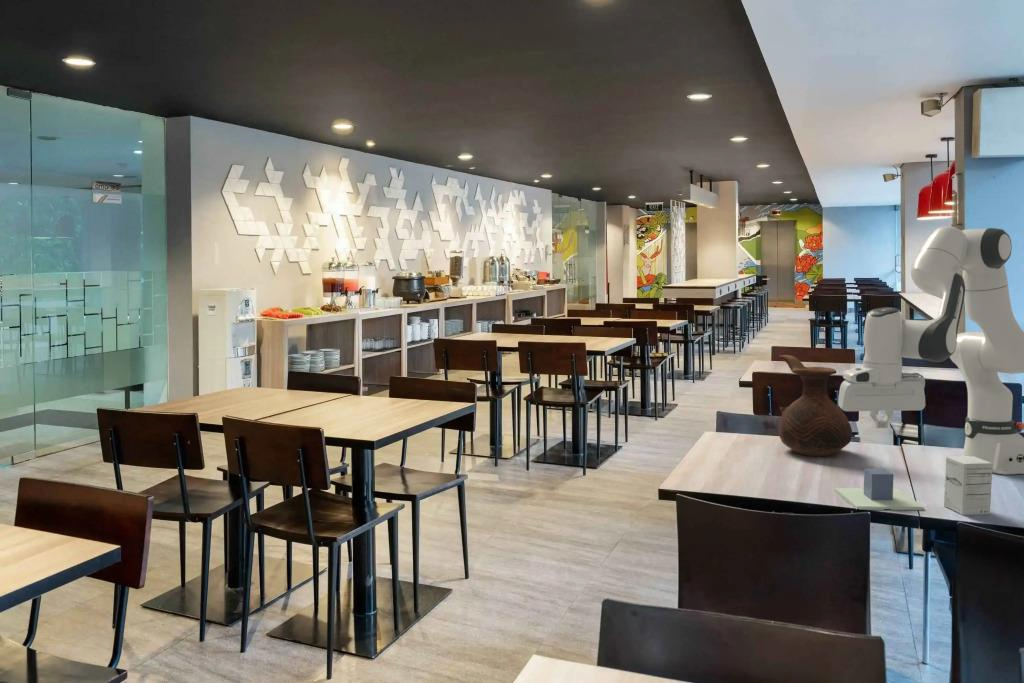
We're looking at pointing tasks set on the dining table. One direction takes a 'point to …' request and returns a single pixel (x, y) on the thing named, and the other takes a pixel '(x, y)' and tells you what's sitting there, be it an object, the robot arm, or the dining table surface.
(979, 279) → the robot arm
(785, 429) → the jug
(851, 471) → the dining table surface
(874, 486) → the blue-grey block
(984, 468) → the supplement box
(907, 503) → the post board
